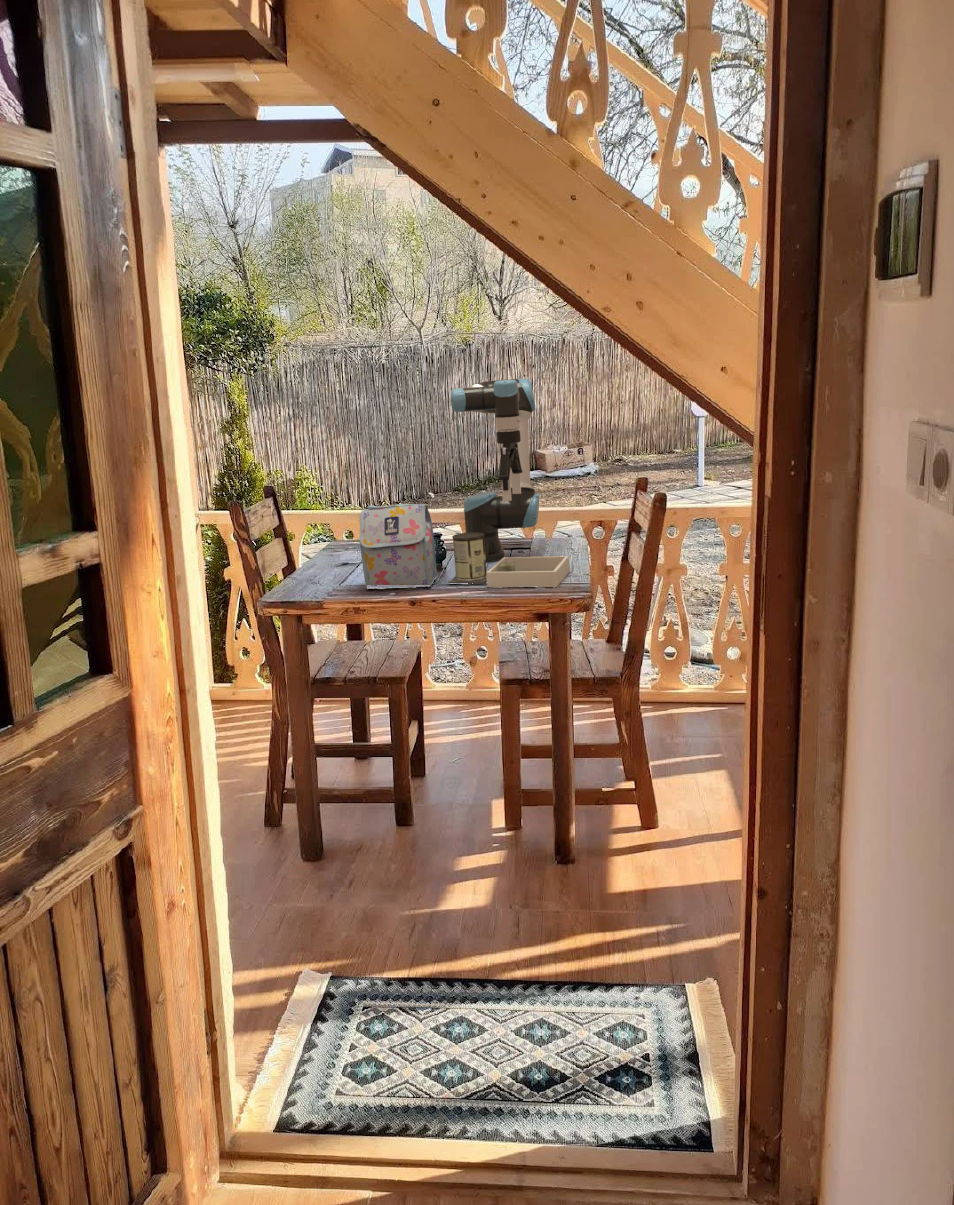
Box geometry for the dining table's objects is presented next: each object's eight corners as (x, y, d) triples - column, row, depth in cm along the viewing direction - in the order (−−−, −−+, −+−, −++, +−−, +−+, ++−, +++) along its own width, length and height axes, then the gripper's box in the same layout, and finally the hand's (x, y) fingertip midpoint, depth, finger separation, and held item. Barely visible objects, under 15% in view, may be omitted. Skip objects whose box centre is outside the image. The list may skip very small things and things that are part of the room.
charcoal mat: (448, 584, 332) (448, 581, 331) (458, 576, 343) (458, 573, 343) (484, 584, 328) (484, 581, 328) (493, 576, 340) (493, 573, 340)
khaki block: (500, 581, 332) (499, 566, 331) (503, 578, 336) (502, 563, 335) (513, 581, 331) (512, 565, 330) (515, 578, 335) (514, 563, 334)
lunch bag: (360, 593, 328) (352, 510, 322) (372, 581, 345) (365, 502, 338) (429, 591, 325) (423, 507, 319) (439, 579, 341) (433, 499, 335)
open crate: (487, 588, 323) (486, 572, 322) (504, 571, 346) (503, 557, 345) (556, 587, 318) (555, 571, 316) (569, 571, 340) (568, 556, 339)
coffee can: (465, 573, 342) (463, 531, 339) (492, 575, 337) (490, 532, 334) (449, 580, 334) (446, 537, 330) (476, 581, 328) (473, 538, 325)
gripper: (510, 433, 313) (514, 503, 319) (528, 425, 337) (531, 490, 342) (486, 434, 315) (491, 503, 321) (505, 426, 339) (509, 491, 344)
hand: (512, 497), depth 331 cm, fingers open, 13 cm apart
